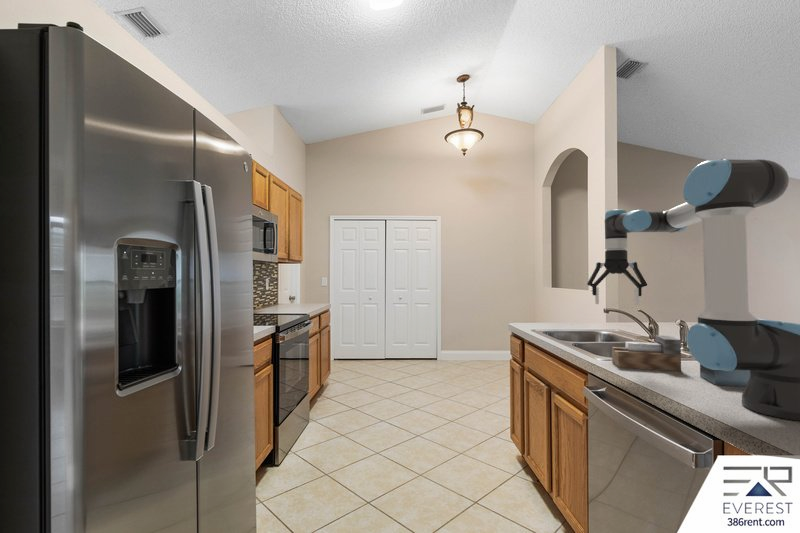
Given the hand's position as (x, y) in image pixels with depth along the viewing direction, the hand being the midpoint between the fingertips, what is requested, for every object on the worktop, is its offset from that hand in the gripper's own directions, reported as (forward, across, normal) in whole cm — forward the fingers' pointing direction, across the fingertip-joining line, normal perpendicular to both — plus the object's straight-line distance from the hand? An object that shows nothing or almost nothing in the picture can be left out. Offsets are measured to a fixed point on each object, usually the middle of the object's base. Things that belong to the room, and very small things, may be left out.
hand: (616, 304), depth 147 cm
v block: (+23, -28, +17) cm, 40 cm away
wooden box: (+23, -9, +2) cm, 25 cm away
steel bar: (+18, -11, +2) cm, 21 cm away
